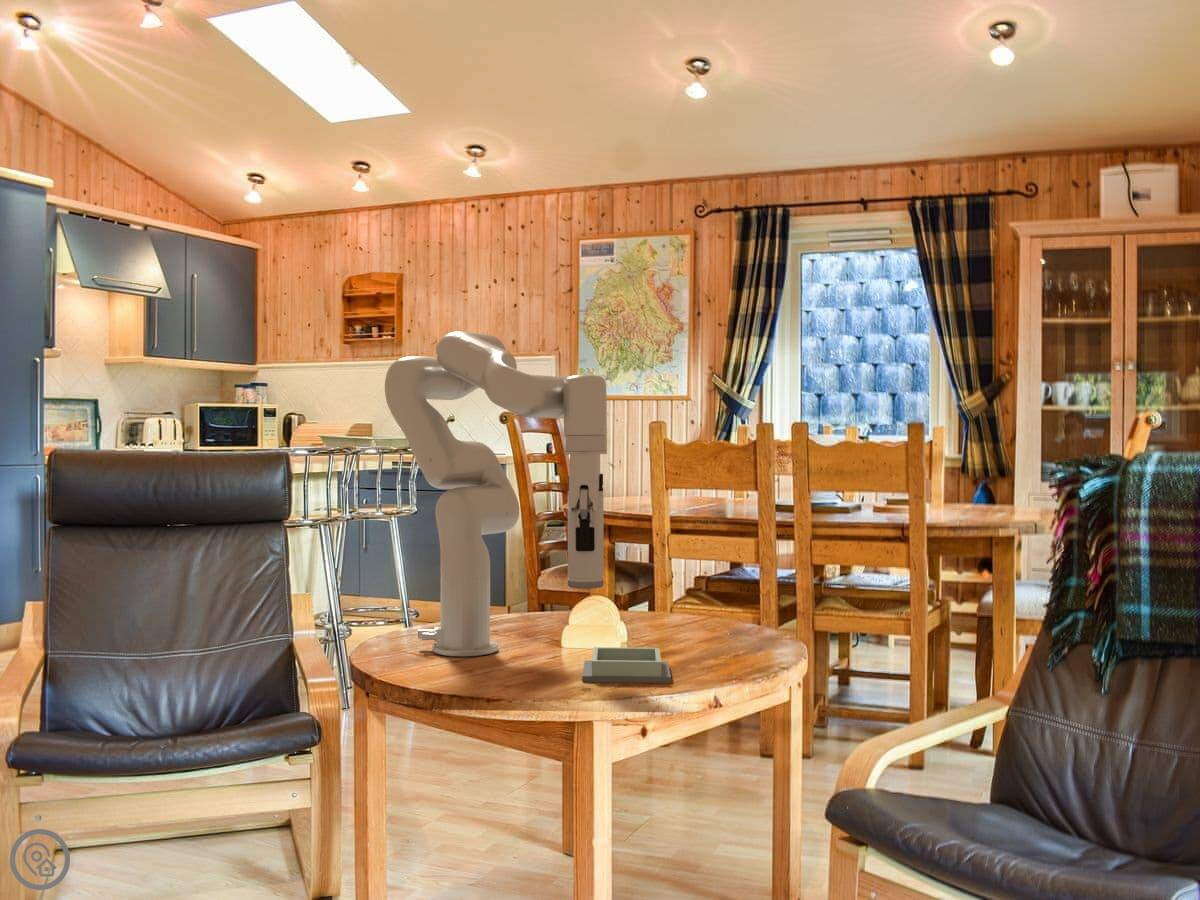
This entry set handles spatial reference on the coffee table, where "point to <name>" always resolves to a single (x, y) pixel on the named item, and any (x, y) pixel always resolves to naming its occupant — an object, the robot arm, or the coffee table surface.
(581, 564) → the travel mug
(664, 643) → the coffee table surface
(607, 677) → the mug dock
